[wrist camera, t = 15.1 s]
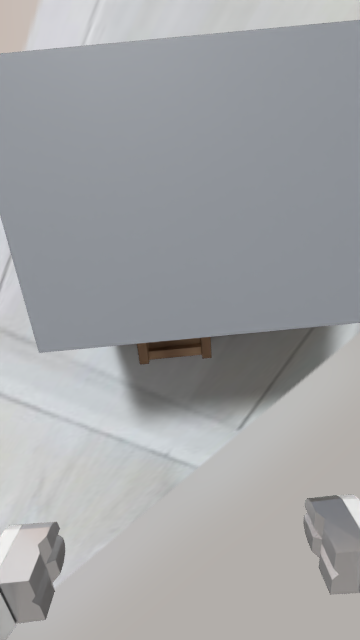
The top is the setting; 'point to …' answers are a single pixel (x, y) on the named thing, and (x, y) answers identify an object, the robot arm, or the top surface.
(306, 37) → the grey cover
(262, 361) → the top surface
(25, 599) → the robot arm
